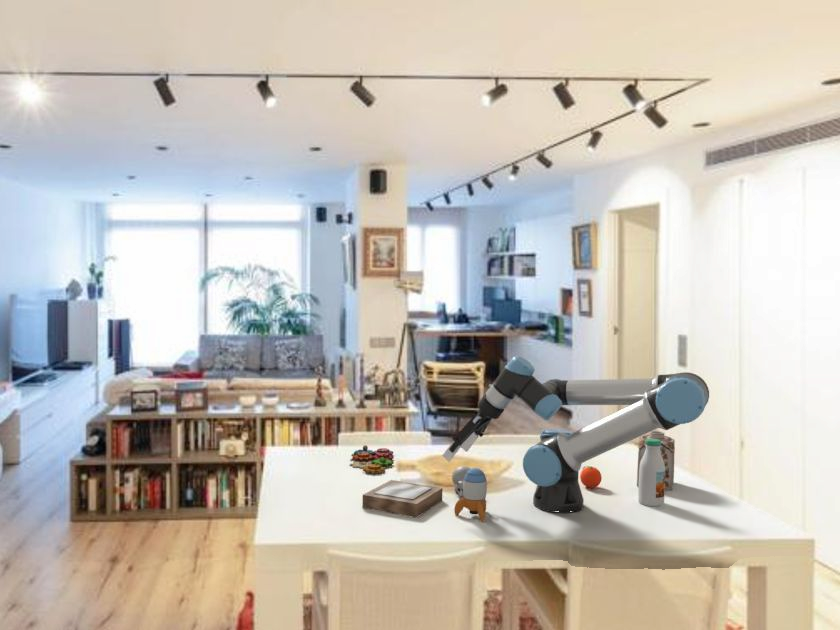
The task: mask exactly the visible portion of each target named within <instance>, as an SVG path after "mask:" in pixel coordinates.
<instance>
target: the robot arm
mask: <svg viewBox="0 0 840 630" xmlns="http://www.w3.org/2000/svg"><path fill="white" fill-rule="evenodd" d="M534 372H535V367H534V366H533V365H532V364H531V362H530V361H528V360H527V359H526V358H524V357H522V356H519V355H516V356H513V357H512V358H511V360H510V361H508V363H507V364H506V365H505V366H504V367H503V369H502V371H501V372H500V373H499V375H498V376H497V377H496V379H495V380H494V381H493V383H492V384H491V383H490V384H488V387H489V388H488V389H487V390H486V392H485V394H483V395H482V397H481V399H480V400H479V401H478V402H477V407H478V409H479V410H480V411H479V412H476V413H475V414H473V415H472V417H471V419H469V420H468V422H467V423H466V424H465V425H464V426H463V427H462V428H461V430H460V431H458V433H457V434H456V435H455V436H452V437H451V439H452V442H451V444H450V445H449V446H448V447H447V449H446V450H445V451H444V453H443V454H442V458H444V459H445V460H446V461H447V462H449V463H450V462H451V461H452V459H453V458H454V457H455V455H456V454H457V453H458V451H460V448H461V449H463V451H464V452H466V453H467V452H469V450H470V449H471V447H472V446H473V445H474V444H475V442H476V441H477V440H478V439H479V437H480V438H482V437H484V434H483V433H485V431H486V429H487V428H488V426H489V425H490V423H491V421H492V420H498V419H499V418H500V417H501V416H502V414H503V413H504V412H505V409H507V408H508V406H509V405H510V404H511V403H512V402H513V400H514V399H515V398H516V397H518V398H519V400H520V401H522V402H523V403H524V404H525V405H526V406H527V407H528V408H530V409H531V410H532V411H533V412H534V413H535V414H536V415H537V416H538V417H540V418H541V419H543V420H544V421H549V420H551V418H553V417H554V416H555V414H556V413H558V411H559V410H560V409H561V407H562V406H626V407H623V408H622V409H620V410H616V412H613V413H611V414H609V415H607V416H605V417H602V418H600V419H599V420H597V421H595V422H592V423H590V424H589V425H586V426H584V427H581V428H580V429H578V430H575V431H572V430H571V431H570V430H564V429H563V430H562V429H549V428H547V429H543V430H541V432H540V436H539V439H540V441H539V442H537V443H536V444H535V445H532V446H531V447H529V448H528V450H527V451H526V453H524V456H523V458H522V468H523V471H524V475H525V476H526V477H527V479H528V480H529V481H530V482H532V483H533V484H535V485H537V486H536V487H535V491H534V493H533V496H532V497H533V498H532V499H533V500H532V501H533V502H532V504H533V506H534V507H536V508H537V509H540V510H542V509H543V510H542V511H546V510H548V511H547V512H551V511H559V512H558V513H560V512H568V513H571V512H570V511H576V512H579V511H582V510H583V509H584V506H585V505H584V503H585V501H584V497H583V492H582V489H581V485H580V483H579V474H580V473H579V471H580V470H581V467H582V465H583V463H585V462H587V461H589V460H591V459H594V458H595V457H599V456H600V455H602V454H606V452H609V451H611V450H613V449H615V448H617V447H619V446H621V445H624V444H626V443H629V442H631V441H633V440H635V439H637V438H640V436H644V435H647V434H648V433H650V432H651V431H656V430H657V429H661V430H664V431H668V430H670V429H673V428H675V427H677V426H679V425H685V424H689V423H692V422H694V421H696V420H697V419H698V418H699V417H700V416H701V415H702V414H703V413H704V410H705V408H706V407H707V404H708V403H709V398H710V389H709V387H708V384H707V383H706V381H705V380H704V379H703V378H702V377H701V376H700V375H697V374H695V373H693V372H686V371H685V372H678V373H677V372H675V373H668V374H657V375H656V376H655V377H654V378H615V379H612V378H609V379H606V378H605V379H568V380H565V379H564V380H562V379H559V378H554V379H549V380H546V381H545V382H544V383H541V382H540V380H538V379H537V378H535V376H533V375H534ZM582 508H583V509H582ZM578 510H579V511H578Z"/></svg>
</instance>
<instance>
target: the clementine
mask: <svg viewBox="0 0 840 630" xmlns="http://www.w3.org/2000/svg"><path fill="white" fill-rule="evenodd" d="M579 478H580V482H581V484H582V485H583V486H585V487H586V488H589V489H594V488H596V487H598V486H599V485H600V484H601V482H602V480H603V479H602V473H601V472H600V470H599V469H598V468H596V467H594V466H589V465H587V466H584V467H582V470H581V472H580V476H579Z"/></svg>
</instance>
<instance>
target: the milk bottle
mask: <svg viewBox="0 0 840 630" xmlns="http://www.w3.org/2000/svg"><path fill="white" fill-rule="evenodd" d="M645 444H646V445H645V446H646V450H645V453H644V455H643V457H642V459H641V462H640V468H639V487H638V495H637V496H638V497H637V500H638V503H640V505H644V506H647V507H662V506H664V504H665V493H666V492H665V491H666V490H665V464H664V461H663V458H662V456H661V453H660V447H661V440H659V439H654V438H649V439H646V441H645Z"/></svg>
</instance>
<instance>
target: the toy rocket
mask: <svg viewBox="0 0 840 630" xmlns="http://www.w3.org/2000/svg"><path fill="white" fill-rule="evenodd" d="M487 490H488V482H487V476H486V474H485V473H484V471H483V470H482V469H480V468H477V467H474V468H470V470H468V471H467V473H466V475H465V477H464V482H463V495H464V498H459V499H458V500H457V501H456V503H455V505H454V509H453V511H454V515H455V516H459V515H460V513H461V512H462V511H463V509H464V508H465V509H467V510H468V511H469V514H470V515H478V516H479V517H478V518H479V520H480V522H481V523H484V521H485V517H486V516H485V513H486V511H487V501H486V499H487V497H486V496H487Z"/></svg>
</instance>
